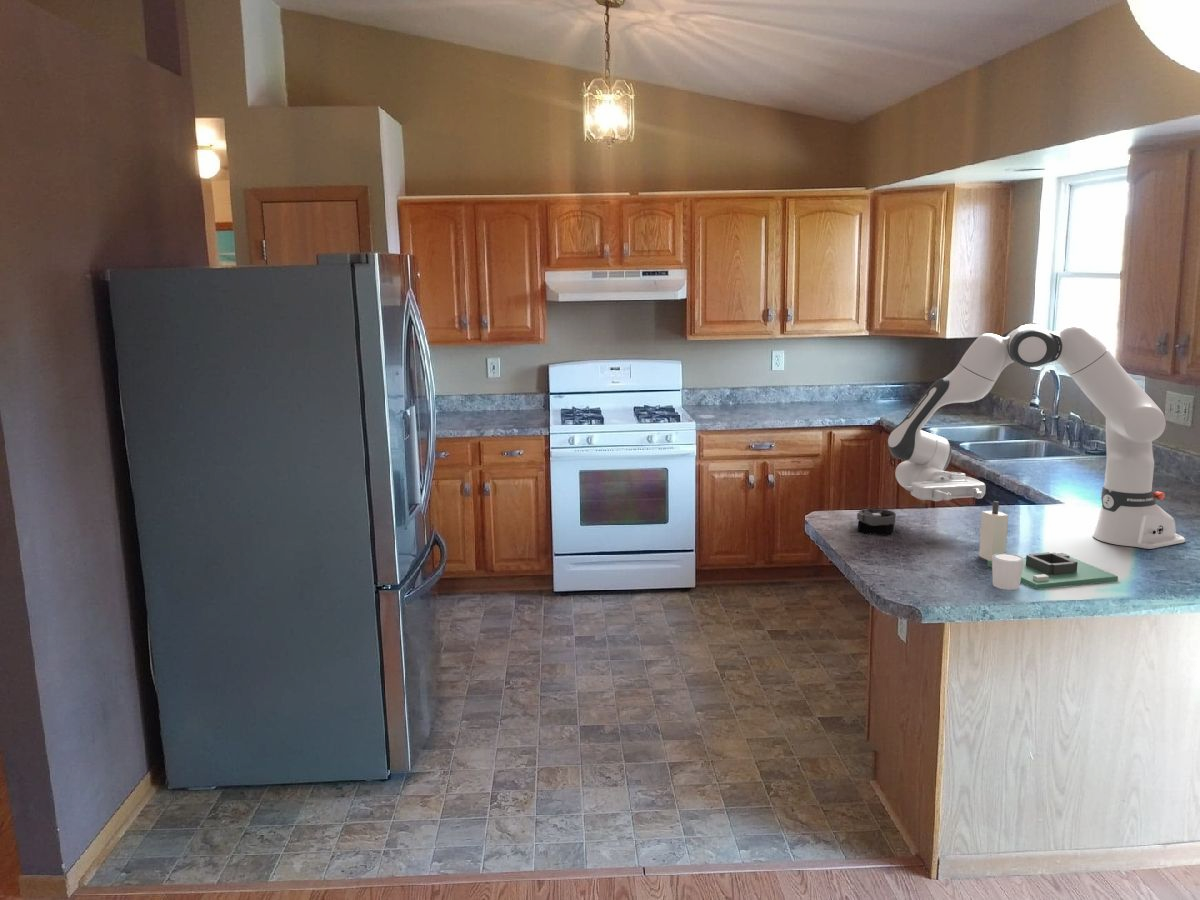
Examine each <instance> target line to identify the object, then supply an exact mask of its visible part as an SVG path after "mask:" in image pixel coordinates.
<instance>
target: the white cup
mask: <svg viewBox="0 0 1200 900" xmlns="http://www.w3.org/2000/svg"><path fill="white" fill-rule="evenodd" d="M1024 558H1025V557H1023V556H1020V555H1017V554H1013V553H1007V552H1006V553H999V554H994V555H992V568H991V569H992V572H991V573H992V585H993V587H995V588H997V589H1001V590H1005V591H1006V590H1007V591H1014V590H1015V591H1016V590H1019V589H1020V585H1021V582H1020V580H1021V575H1022V569H1023V564H1024Z"/></svg>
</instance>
